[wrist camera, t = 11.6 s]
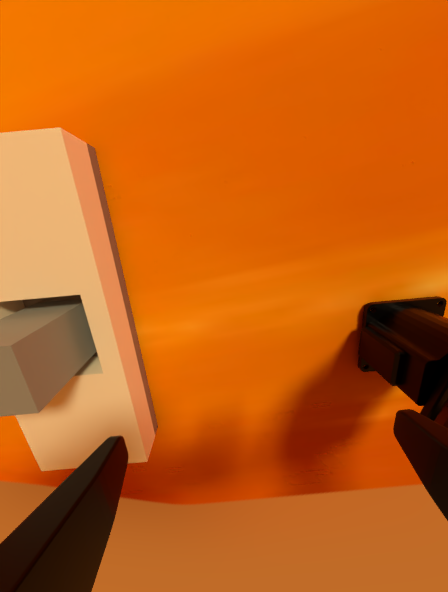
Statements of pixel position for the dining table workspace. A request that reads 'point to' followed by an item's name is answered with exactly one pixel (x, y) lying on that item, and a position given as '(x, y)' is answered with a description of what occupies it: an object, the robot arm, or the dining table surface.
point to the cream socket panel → (72, 294)
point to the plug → (41, 353)
